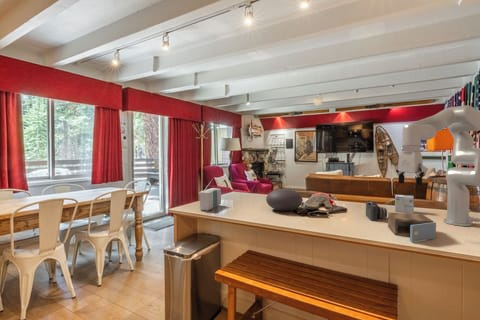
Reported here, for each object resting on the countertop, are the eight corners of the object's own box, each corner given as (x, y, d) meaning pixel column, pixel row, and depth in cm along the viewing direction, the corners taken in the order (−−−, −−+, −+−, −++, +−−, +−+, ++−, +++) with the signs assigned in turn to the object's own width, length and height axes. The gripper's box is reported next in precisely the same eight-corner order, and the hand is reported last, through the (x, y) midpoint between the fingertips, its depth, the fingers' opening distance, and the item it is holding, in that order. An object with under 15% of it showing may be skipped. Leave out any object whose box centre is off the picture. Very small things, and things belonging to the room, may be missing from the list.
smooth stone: (276, 205, 201) (276, 185, 200) (308, 209, 186) (308, 188, 186) (259, 211, 181) (259, 189, 180) (293, 216, 166) (293, 193, 166)
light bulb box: (413, 211, 178) (413, 195, 177) (413, 213, 172) (414, 197, 171) (395, 209, 183) (395, 194, 183) (394, 211, 178) (394, 195, 177)
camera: (390, 222, 153) (390, 205, 152) (370, 221, 155) (370, 204, 154) (382, 216, 167) (382, 200, 166) (363, 215, 169) (364, 199, 168)
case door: (433, 237, 124) (433, 222, 124) (438, 239, 122) (438, 223, 122) (410, 241, 120) (410, 225, 119) (414, 242, 118) (414, 226, 117)
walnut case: (422, 229, 138) (422, 214, 138) (433, 238, 125) (433, 221, 125) (387, 227, 143) (388, 212, 143) (395, 235, 129) (395, 218, 129)
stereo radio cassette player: (208, 211, 182) (208, 182, 181) (198, 210, 184) (197, 182, 184) (221, 205, 201) (221, 179, 200) (211, 204, 204) (211, 178, 203)
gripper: (390, 149, 137) (389, 182, 138) (421, 149, 120) (420, 186, 121) (401, 149, 139) (400, 182, 140) (434, 149, 122) (432, 186, 123)
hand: (409, 184), depth 130 cm, fingers open, 9 cm apart
